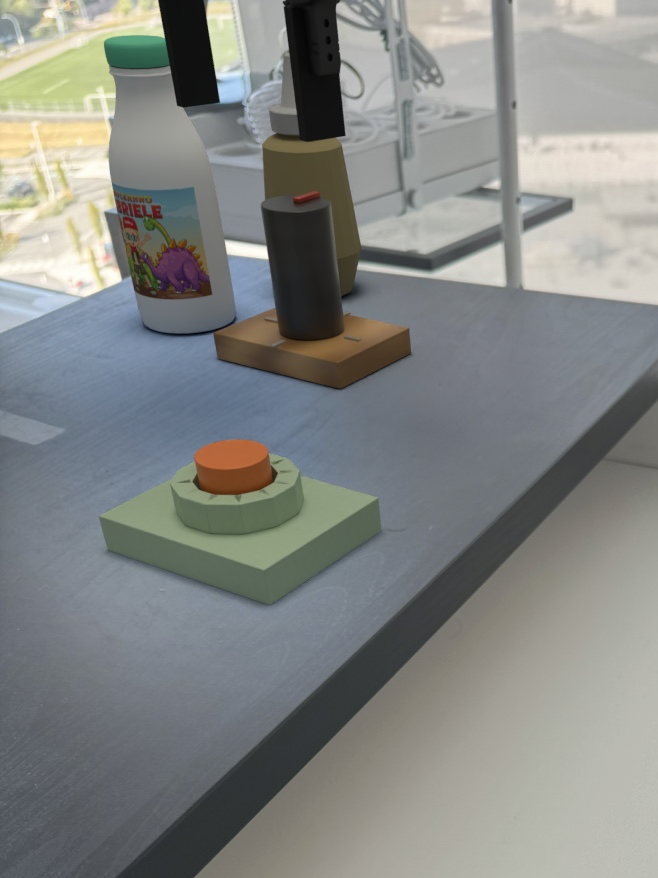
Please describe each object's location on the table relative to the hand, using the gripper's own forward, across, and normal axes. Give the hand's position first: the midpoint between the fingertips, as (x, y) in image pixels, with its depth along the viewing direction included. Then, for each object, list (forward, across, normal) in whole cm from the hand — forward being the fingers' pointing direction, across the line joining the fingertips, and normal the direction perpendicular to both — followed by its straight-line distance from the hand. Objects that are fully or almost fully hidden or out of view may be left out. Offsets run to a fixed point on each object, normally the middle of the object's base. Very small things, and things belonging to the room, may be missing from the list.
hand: (257, 121), depth 72 cm
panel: (+18, +8, -7) cm, 21 cm away
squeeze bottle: (+18, +21, -17) cm, 32 cm away
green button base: (+18, -15, +14) cm, 27 cm away
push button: (+15, -15, +14) cm, 25 cm away
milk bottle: (+18, +22, -4) cm, 28 cm away
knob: (+16, +8, -7) cm, 19 cm away
